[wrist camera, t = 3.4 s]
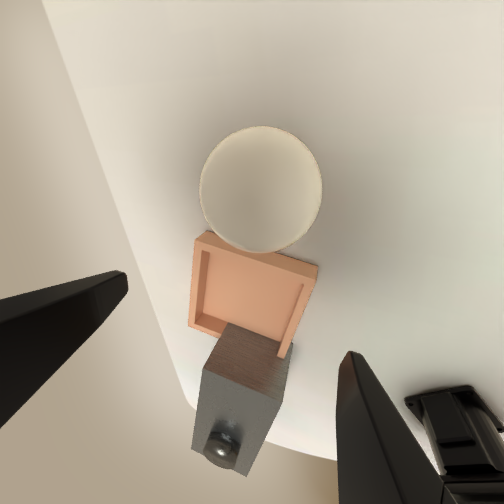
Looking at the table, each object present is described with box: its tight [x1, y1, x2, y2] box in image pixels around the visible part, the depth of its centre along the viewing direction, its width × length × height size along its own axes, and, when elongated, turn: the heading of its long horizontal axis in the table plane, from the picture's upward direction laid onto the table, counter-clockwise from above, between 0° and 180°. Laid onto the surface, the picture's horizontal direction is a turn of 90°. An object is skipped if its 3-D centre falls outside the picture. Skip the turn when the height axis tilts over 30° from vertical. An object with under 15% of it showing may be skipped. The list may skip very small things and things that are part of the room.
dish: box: [188, 231, 318, 359], centre depth 24 cm, size 12×12×2 cm
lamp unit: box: [191, 322, 293, 477], centre depth 28 cm, size 18×8×9 cm, turn 168°
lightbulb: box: [199, 126, 322, 253], centre depth 14 cm, size 6×6×11 cm
